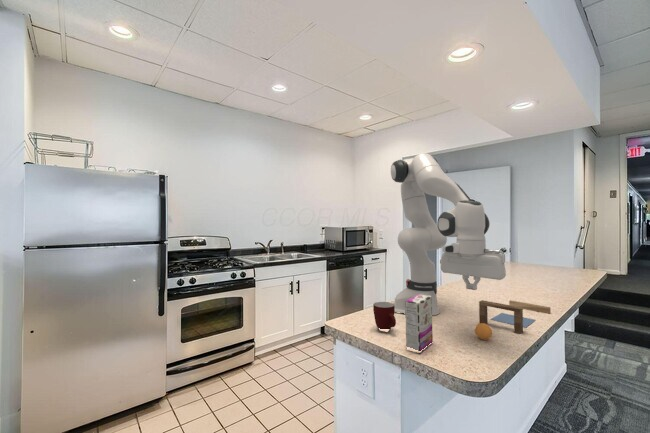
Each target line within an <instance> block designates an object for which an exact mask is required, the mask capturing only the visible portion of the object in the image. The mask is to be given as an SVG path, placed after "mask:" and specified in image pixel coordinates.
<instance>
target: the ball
mask: <svg viewBox="0 0 650 433" xmlns="http://www.w3.org/2000/svg"><path fill="white" fill-rule="evenodd" d="M474 333H475V335H476V337H477V338H478V339H481V340H485V341H486V340H490V339H491V338H492V336H493V329H492V327H491V326H490V325H488V324H485V323H480V324H479V323H478V324H477V325H475V328H474Z"/></svg>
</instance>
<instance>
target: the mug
mask: <svg viewBox="0 0 650 433" xmlns="http://www.w3.org/2000/svg"><path fill="white" fill-rule="evenodd" d="M393 303H394V302H390V301H389V302H388V301H375V302H373V306H372V308H373V315H374V316H373V317H374V320H375V322H374V323H375V325H376V327H377V329H378V328H380V329H390V330H391V329H392V328H395V327H396V326H397V325H396V324H397V321H396V320H397V319H396V317H395V314H396V313H395V306H394V304H393Z"/></svg>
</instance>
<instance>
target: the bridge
mask: <svg viewBox="0 0 650 433" xmlns="http://www.w3.org/2000/svg"><path fill="white" fill-rule="evenodd" d="M490 307H491V308H495V309H501V310H505V311H510V312H513V315H514V325H513V327H514V328H513V332H514V334H517V335H521V334H523V333H524V327H523V317H524V313H523V312H524V311H523V310H524V309H523V308H521V307H516V306H511V305H509V304H504V303H500V302H499V303H498V302H493V301H489V300H483V299H482V300H479V301H478V310H479V311H478V312H479V313H478V314H479V315H478V319H479V322H478V324H480V323H485V324H487V325H488V323H489V322H488V319H489V318H488V317H489V316H488V308H490Z"/></svg>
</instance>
